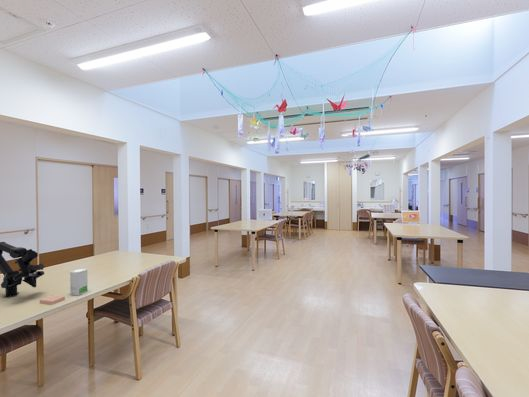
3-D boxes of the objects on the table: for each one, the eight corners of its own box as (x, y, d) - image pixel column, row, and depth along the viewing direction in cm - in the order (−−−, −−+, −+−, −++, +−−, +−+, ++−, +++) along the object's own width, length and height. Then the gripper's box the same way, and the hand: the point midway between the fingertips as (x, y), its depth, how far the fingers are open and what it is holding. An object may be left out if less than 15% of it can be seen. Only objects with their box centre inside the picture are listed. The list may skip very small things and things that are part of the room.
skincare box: (78, 295, 178) (78, 272, 178) (69, 295, 179) (69, 271, 178) (88, 291, 186) (88, 268, 186) (79, 290, 187) (79, 268, 187)
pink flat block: (39, 299, 166) (51, 301, 163) (52, 295, 173) (64, 296, 171) (39, 303, 166) (52, 305, 163) (52, 298, 174) (64, 300, 171)
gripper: (26, 259, 167) (37, 281, 165) (47, 259, 185) (57, 279, 183) (8, 269, 165) (18, 291, 162) (31, 268, 183) (40, 288, 181)
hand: (35, 287), depth 172 cm, fingers closed
